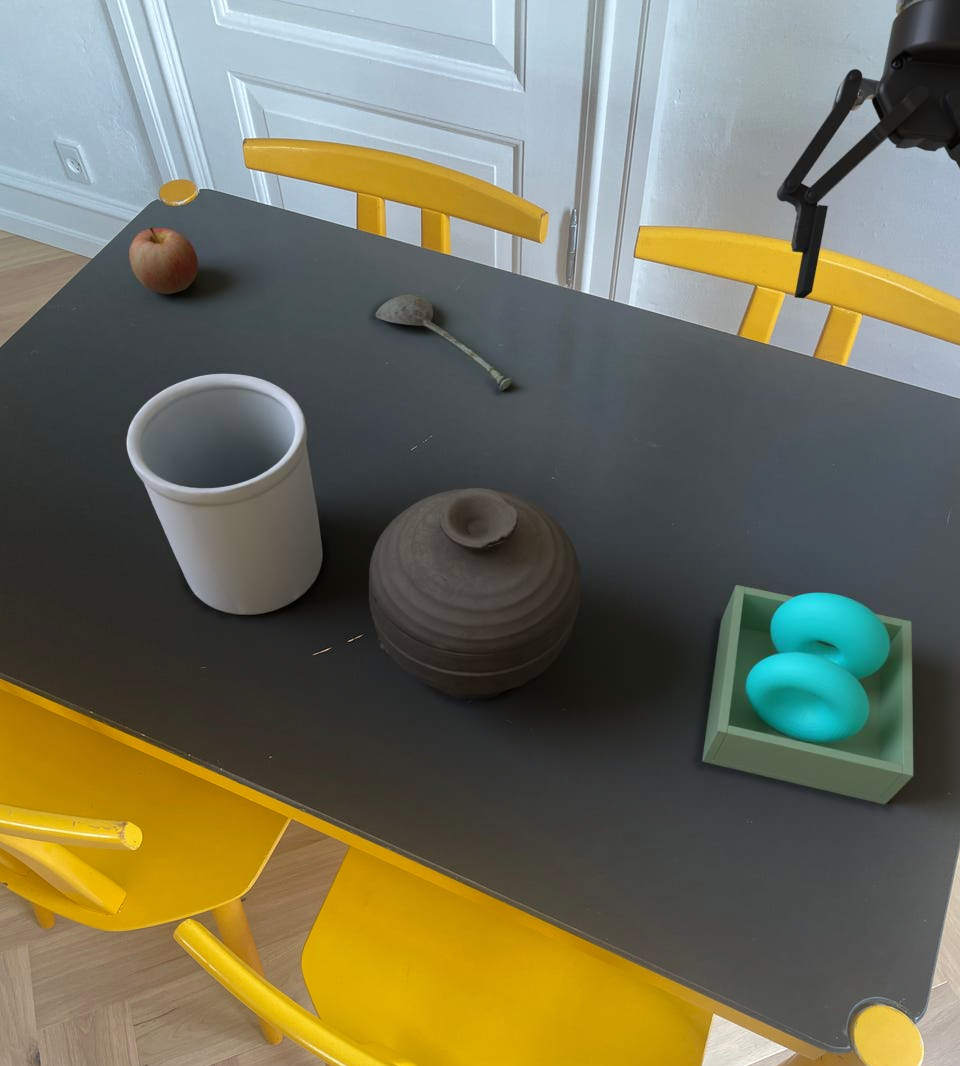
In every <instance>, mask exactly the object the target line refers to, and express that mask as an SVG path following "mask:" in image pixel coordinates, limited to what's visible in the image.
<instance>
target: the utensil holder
mask: <svg viewBox="0 0 960 1066" xmlns="http://www.w3.org/2000/svg"><path fill="white" fill-rule="evenodd" d="M126 435H127V436H126V451H127V454H128V458H129V460H130V463H131V465H132V468H133V470H134V471H135V473H136V474H137V476H138V477H139V478H140V480H141V481H142V483H143V484H144V487H145V490H146V491H147V495H148V496H149V499H150V501H151V504H152V506H153V508H154V511H155V513H156V515H157V517H158V520H159V522H160V524H161V526H162V529H163V531H164V534H165V536H166V538H167V540H168V543H169V545H170V548H171V549H172V552H173V554H174V556H175V558H176V561H177V563H178V565H179V567H180V569H181V571H182V573H183V576H184V578H185V580H186V582H187V585H188V586H189V587H190V590H191V591H192V592H193V594H194V595H195V596H196V597H197V598H198V599H199V600H200V601H202V603H204V604H206V605H207V606H209V607H211V608H213V609H215V610H218V611H221V612H224V613H227V614H232V615H241V616H243V615H244V616H245V615H246V616H250V615H260V614H261V615H262V614H266V613H270V612H274V611H277V610H279V609H281V608H283V607H286V606H288V605H290V604H291V603H293V602H294V601H296V600H298V599H299V598H301V596H303V595H304V594H305V593H306V592H307V591H308V590H309V589H310V588H311V587H312V585H313V584H314V582H315V581H316V579H317V577H318V576H319V573H320V571H321V567H322V563H323V544H322V537H321V529H320V520H319V514H318V507H317V500H316V496H315V490H314V484H313V477H312V471H311V466H310V465H311V464H310V459H309V452H308V448H307V447H308V446H307V440H308V430H307V423H306V418H305V415H304V412H303V411H302V409H301V407H300V405H299V403H298V402H297V401H296V400H295V398H294V397H292V395H290V394H289V393H288V392H287V391H286V390H284V389H283V388H281V387H280V386H278V385H276V384H274V383H272V382H270V381H268V380H265V379H262V378H259V377H256V376H251V375H245V374H236V373H212V374H205V375H199V376H195V377H192V378H188V379H185V380H182V381H180V382H178V383H175V384H172V385H171V386H168V387H167V388H165V389H163V390H161V391H160V392H159V393H157V394H155V395H154V396H153V397H151V398H150V399H149V400H148V401H146V402H145V404H143V405H142V407H141V408H140V409H139V410H138V411H137V413H136V414H135V415H134V417H133V418H132V420H131V423H130V425H129V427H128V430H127V434H126Z"/></svg>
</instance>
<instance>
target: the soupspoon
mask: <svg viewBox="0 0 960 1066" xmlns="http://www.w3.org/2000/svg"><path fill="white" fill-rule="evenodd" d="M433 315H434V309H433V304H432V303H431V302H430V300H428V299H427V298H425V297H423V296H419V295H417V294H403V295H397V296H395V297H393V298H391V299H388V300H387V301H386V302H384V303H383V304H382V305H381V306H379V308H378V309H377V310H376V312H375V318H377V319H379V320H380V321H381V320H382V321H383V322H387V323H388V322H389V323H393V324H398V325H407V326H417V327H418V326H419V327H425V328H427V329H429V330H431V331H432V332H434V333H436V334H438V335H439V336H440V337H442V338H444V339H445V340H446V341H448V342H449V343H451V344H452V345H454V346H455V347H456V348H458V349H459V350H460V351H462V352H464V354H466V355H467V356H469V357H470V358H471V359H473V360H474V361H475V362H476V363H478V364H479V365H480V366H482V367H483V368H485V369H486V372H487V374H491V377H492V379H493V380H495V381H496V383H497V385H499V391H505V390H507V389H508V387H510V385H511V384H512V378H510V377H508V378H507V377H506V376H505V375H502V374H501V373H500V372H499V371H497V370H495V367H494V366H491V365H490V364H489V363H488V362H486V360H484V359H483V358H482V357H481V356H479V355H478V354H477V353H476V352H474V351H473V350H471V349H470V348H468V347H467V346H466V345H465V344H464V343H462V342H461V341H459V340H458V339H457V338H455V337H454V336H452V335H451V334H450V333H448V332H447V331H446V330H444V329H443V328H441V327H440V326H438V325H437V324H435V323H433V322H432V319H433Z"/></svg>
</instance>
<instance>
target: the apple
mask: <svg viewBox="0 0 960 1066" xmlns="http://www.w3.org/2000/svg"><path fill="white" fill-rule="evenodd" d="M128 250H129V251H128V258H129V263H130V267H131V269H132V272H133V274H134V275H135V277H136V278H137V280H138V281H139V283H141V285H143V286H144V287H145V288H146V289H147V290H150V291H152V292H154V293H157V294H162V295H171V294H175V293H178V292H182V291H184V290H187V288H189V287H190V285H192V283H193V282H194V280H195V278H196V277H197V274H198V269H199V259H198V255H197V253H196V250H195V248H194V246H193V245H192V243H191V242H190V240H188V239H187V238H186V236H184V235H182V234H181V233H179V232H178V231H175V230H173V229H170V228H163V227H162V228H161V227H155V228H153V226H149V227H148V229H145V230H142V231H141V232H139V233H138V234H137V235H135V236H134V239H133V240H132V241H131V244H130V247H129V249H128Z"/></svg>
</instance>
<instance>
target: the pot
mask: <svg viewBox="0 0 960 1066" xmlns="http://www.w3.org/2000/svg"><path fill="white" fill-rule="evenodd" d="M369 562H370V563H369V570H368V571H369V572H368V573H369V574H368V575H369V577H368V594H369V595H368V602H369V609H370V613H371V617H372V621H373V625H374V628H375V631H376V633H377V636H378V637H377V640H378V641H379V646H380V648H381V649H382V651H384V652H385V653H386V654H387V655H388V656H389V657H390V658H391V659H392V660H393V661H394V663H395V664H396V665H397V666H399V667H400V668H401V669H403V670H404V672H406V673H408V674H409V675H410V676H412V677H414V679H416V680H418V681H419V682H421V683H423V684H424V685H426V686H430V687H433V688H436V689H438V690H439V691H442V692H443V693H444V694H446V695H448V696H451V697H453V698H456V699H462V700H473V701H474V700H475V701H476V700H486V699H492V698H495V697H497V696H499V695H501V694H502V693H503V692H506V691H508V690H512V689H515V688H519V687H521V686H523V685H525V684H527V683H528V682H529V681H531V680H533V679H535V678H536V677H538V676H540V675H542V674H543V673H544V672H545V671H546V670H547V669H548V668H549V667H550V666H551V665H552V664H553V663H554V661H555V660H556V659H557V658H558V656H559V655H560V654H561V651H562V650H563V649H564V648H565V645H566V644H567V642H568V640H569V638H570V637H571V634H572V631H573V628H574V625H575V621H576V619H577V617H578V613H579V610H580V604H581V603H580V602H581V584H580V582H581V581H580V580H581V570H580V563H579V558H578V554H577V551H576V549H575V547H574V544H573V542H572V541H571V539H570V537H569V536H568V533H566V531H565V530H564V528H563V527H562V526H561V525H560V523H558V522H557V520H556V519H555V518H554V517H553V516H552V515H551V514H549V513H548V512H547V511H546V510H545V509H543V507H541V506H539V505H537V504H536V503H534V502H532V501H531V500H528V499H526V498H524V497H522V496H519V495H516V494H513V493H509V492H506V491H503V490H502V491H501V490H496V489H491V488H483V487H470V488H459V489H452V490H447V491H441V492H439V493H435V494H432V495H429V496H427V497H424V498H422V499H420V500H419V501H416V502H415V503H413V504H412V505H410V506H409V507H407V508H406V509H405V510H403V511H402V512H401V513H399V514H398V515H396V517H395V518H394V519H393V520H392V521H390V523H389V524H388V525H387V526H386V527H385V529H384V530H383V531H382V533H381V535H380V536H379V538H378V539H377V542H376V544H375V546H374V549H373V551H372V554H371V557H370V561H369Z"/></svg>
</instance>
